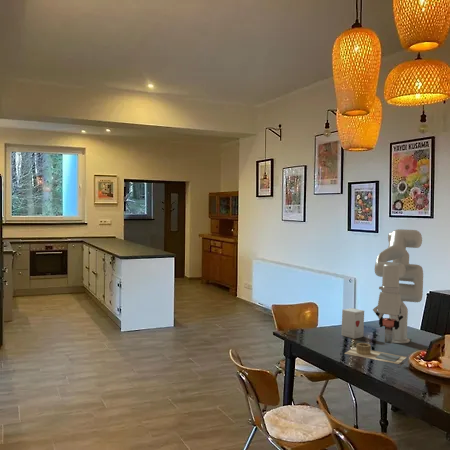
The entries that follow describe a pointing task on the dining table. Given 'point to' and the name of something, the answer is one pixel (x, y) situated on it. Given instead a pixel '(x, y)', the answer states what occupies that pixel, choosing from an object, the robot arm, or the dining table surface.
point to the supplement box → (352, 323)
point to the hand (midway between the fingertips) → (389, 327)
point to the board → (374, 354)
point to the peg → (388, 329)
